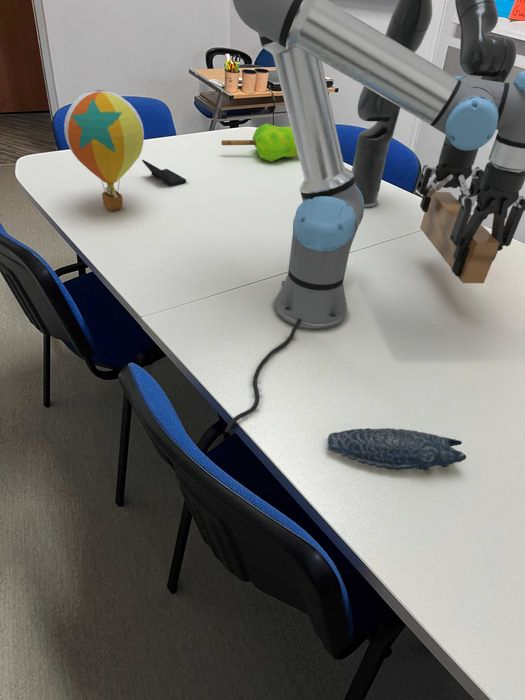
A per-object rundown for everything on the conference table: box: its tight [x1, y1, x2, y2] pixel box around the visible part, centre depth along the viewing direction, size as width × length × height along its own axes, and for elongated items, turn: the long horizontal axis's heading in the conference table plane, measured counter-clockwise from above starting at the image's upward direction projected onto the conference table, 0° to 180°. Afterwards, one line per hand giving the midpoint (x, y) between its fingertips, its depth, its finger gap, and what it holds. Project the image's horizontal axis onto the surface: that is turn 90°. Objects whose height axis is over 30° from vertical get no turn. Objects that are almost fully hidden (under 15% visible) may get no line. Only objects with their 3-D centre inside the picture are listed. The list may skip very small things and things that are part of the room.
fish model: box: [326, 427, 467, 471], centre depth 80 cm, size 7×21×5 cm, turn 84°
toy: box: [63, 89, 145, 212], centre depth 136 cm, size 20×20×30 cm
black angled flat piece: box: [141, 159, 187, 187], centre depth 162 cm, size 12×7×10 cm
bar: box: [419, 191, 500, 284], centre depth 117 cm, size 26×5×9 cm, turn 6°
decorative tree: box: [221, 123, 298, 163], centre depth 185 cm, size 18×10×30 cm
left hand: (467, 273), depth 112 cm, fingers closed on bar, 5 cm apart
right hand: (441, 211), depth 124 cm, fingers open, 8 cm apart
